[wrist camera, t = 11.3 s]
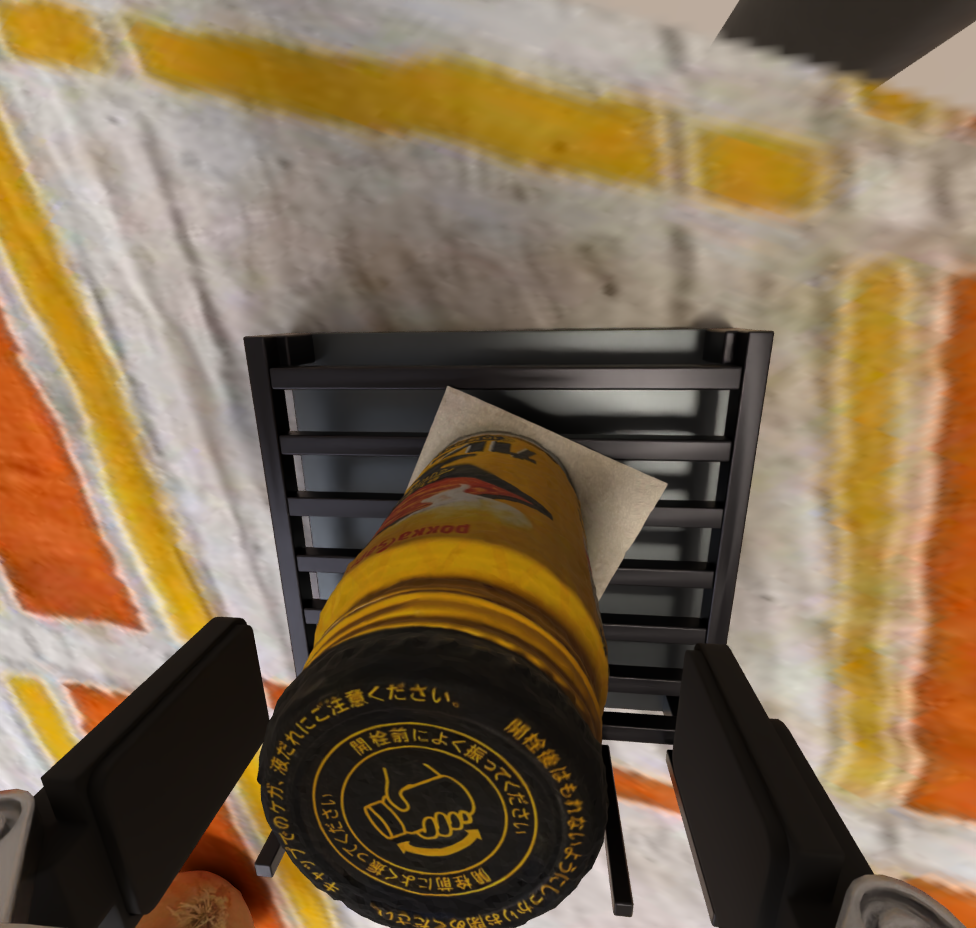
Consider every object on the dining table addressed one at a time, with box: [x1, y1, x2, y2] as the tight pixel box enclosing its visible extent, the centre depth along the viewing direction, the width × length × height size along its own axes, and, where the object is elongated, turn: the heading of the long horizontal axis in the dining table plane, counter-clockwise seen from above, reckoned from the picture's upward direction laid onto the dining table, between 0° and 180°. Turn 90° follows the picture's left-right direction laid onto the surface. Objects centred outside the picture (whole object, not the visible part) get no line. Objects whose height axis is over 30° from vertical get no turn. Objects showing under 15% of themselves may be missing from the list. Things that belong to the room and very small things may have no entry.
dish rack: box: [243, 328, 774, 927], centre depth 18 cm, size 18×18×9 cm
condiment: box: [257, 386, 668, 928], centre depth 13 cm, size 7×8×12 cm
